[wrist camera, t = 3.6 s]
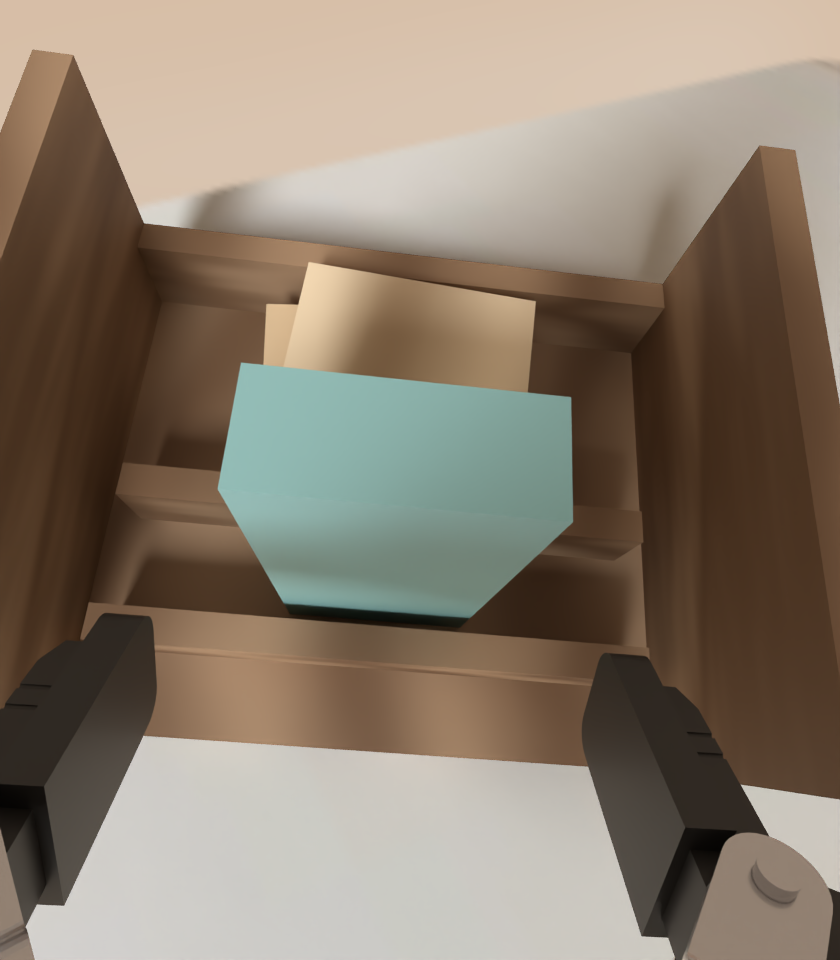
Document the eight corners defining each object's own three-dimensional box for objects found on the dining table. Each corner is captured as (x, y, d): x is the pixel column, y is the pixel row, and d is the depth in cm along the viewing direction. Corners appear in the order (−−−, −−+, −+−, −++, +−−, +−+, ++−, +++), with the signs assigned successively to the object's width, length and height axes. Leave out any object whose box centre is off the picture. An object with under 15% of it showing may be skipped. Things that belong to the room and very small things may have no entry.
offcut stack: (505, 357, 25) (535, 283, 21) (502, 490, 23) (535, 438, 19) (279, 332, 25) (264, 252, 21) (257, 467, 23) (235, 408, 19)
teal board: (462, 561, 22) (571, 397, 11) (459, 627, 22) (573, 522, 10) (298, 547, 22) (241, 362, 11) (289, 613, 21) (218, 489, 10)
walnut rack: (639, 353, 28) (795, 150, 18) (663, 770, 22) (909, 805, 12) (151, 300, 26) (32, 49, 17) (44, 727, 21) (-232, 728, 11)
